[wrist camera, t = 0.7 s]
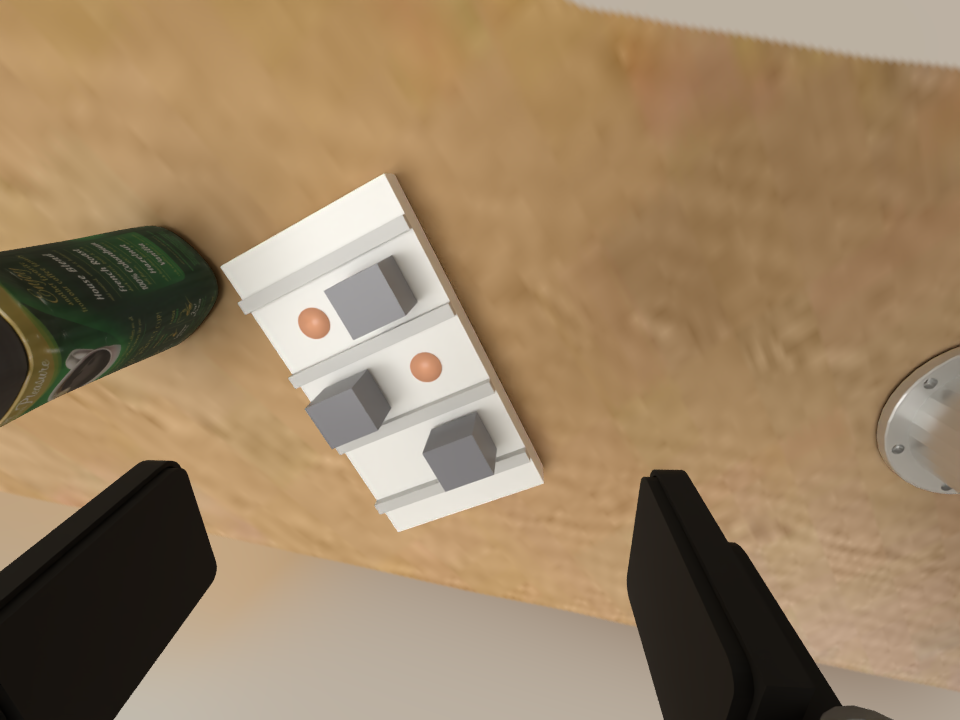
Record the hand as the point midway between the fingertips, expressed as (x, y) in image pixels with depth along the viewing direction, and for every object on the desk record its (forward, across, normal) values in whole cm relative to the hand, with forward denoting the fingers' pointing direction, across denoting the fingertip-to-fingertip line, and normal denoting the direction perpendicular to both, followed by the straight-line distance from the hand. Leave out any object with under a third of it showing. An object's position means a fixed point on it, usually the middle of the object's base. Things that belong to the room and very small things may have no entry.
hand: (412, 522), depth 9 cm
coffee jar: (+27, +25, +1) cm, 37 cm away
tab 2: (+23, +10, +9) cm, 27 cm away
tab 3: (+23, +1, +13) cm, 26 cm away
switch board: (+26, +7, +8) cm, 28 cm away
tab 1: (+23, +7, +1) cm, 24 cm away
